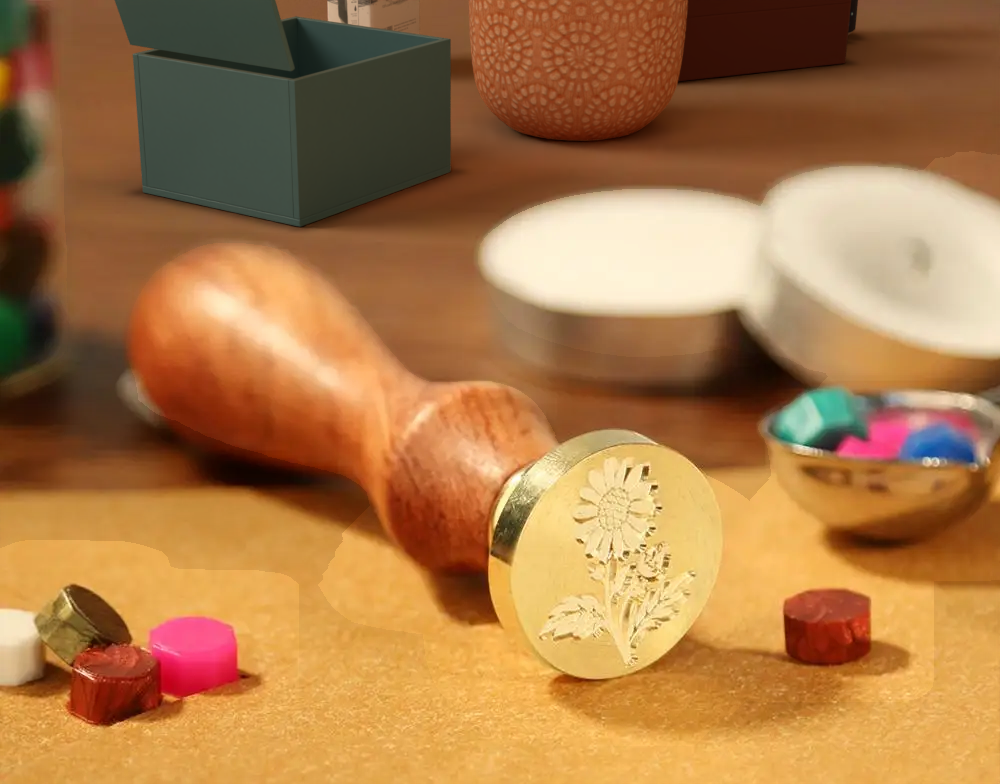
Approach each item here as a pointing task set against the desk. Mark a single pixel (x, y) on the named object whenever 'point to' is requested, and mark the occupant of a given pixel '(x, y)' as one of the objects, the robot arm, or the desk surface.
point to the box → (762, 36)
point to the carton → (297, 122)
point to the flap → (210, 29)
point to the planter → (577, 63)
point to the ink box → (377, 14)
